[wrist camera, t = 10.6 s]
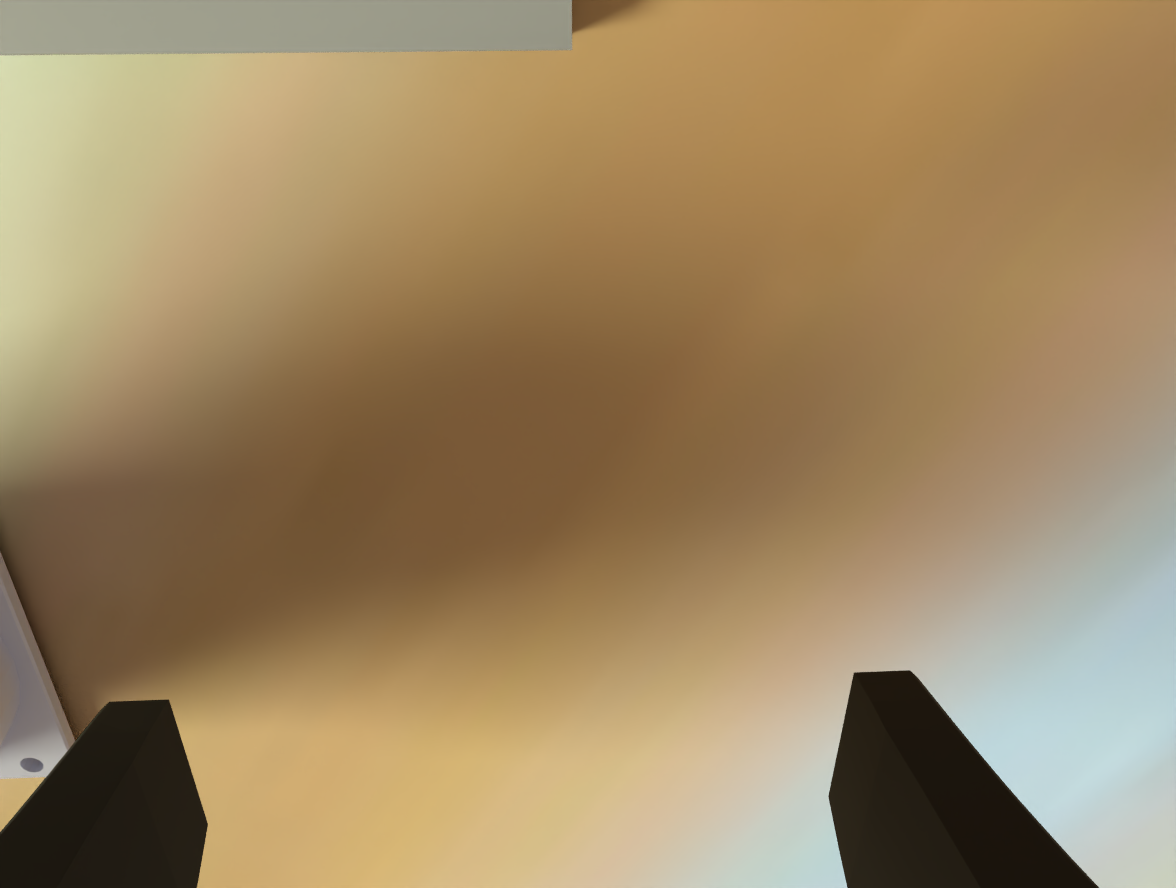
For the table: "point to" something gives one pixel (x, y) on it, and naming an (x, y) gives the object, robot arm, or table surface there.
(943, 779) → the robot arm
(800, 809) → the table surface
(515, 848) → the table surface
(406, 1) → the pin base
